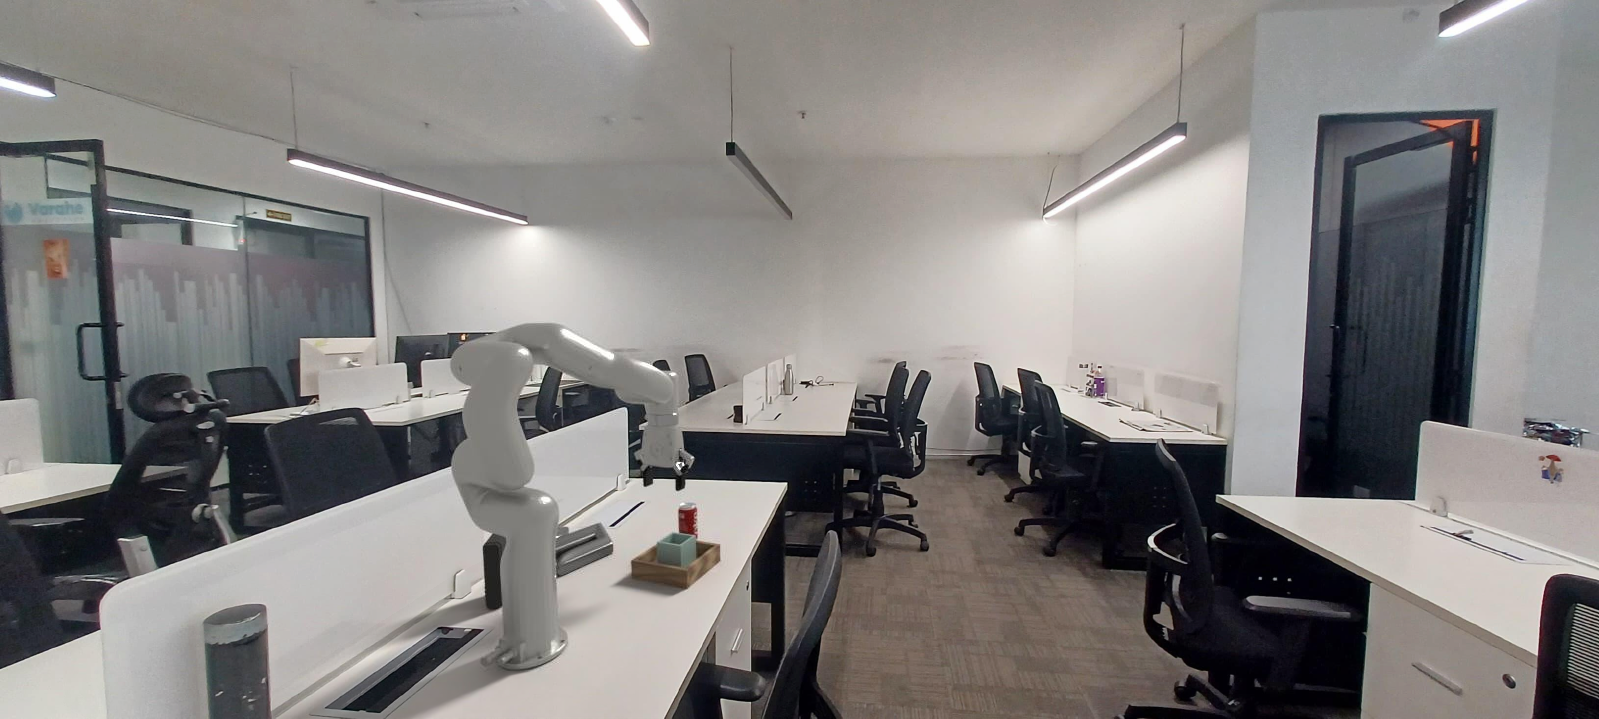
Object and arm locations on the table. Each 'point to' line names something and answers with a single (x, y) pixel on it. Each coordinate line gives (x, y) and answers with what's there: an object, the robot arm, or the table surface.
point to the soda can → (688, 519)
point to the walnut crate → (673, 575)
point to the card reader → (493, 570)
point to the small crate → (677, 550)
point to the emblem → (581, 547)
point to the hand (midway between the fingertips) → (664, 487)
